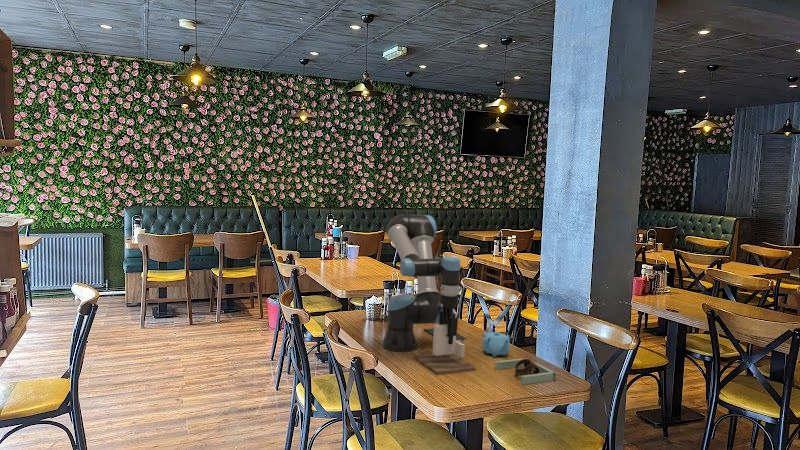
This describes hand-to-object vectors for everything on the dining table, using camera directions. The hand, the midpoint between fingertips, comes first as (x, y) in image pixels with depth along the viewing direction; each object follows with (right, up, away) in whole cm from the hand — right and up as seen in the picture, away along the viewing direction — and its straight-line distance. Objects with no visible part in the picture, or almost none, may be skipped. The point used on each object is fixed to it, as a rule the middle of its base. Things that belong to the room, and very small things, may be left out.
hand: (446, 349), depth 235 cm
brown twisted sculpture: (+31, -9, -10) cm, 34 cm away
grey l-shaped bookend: (-1, -1, 0) cm, 2 cm away
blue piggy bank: (+24, -6, +17) cm, 30 cm away
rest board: (-1, -6, 0) cm, 6 cm away
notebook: (+3, -3, +43) cm, 43 cm away
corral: (+30, -8, -9) cm, 32 cm away
